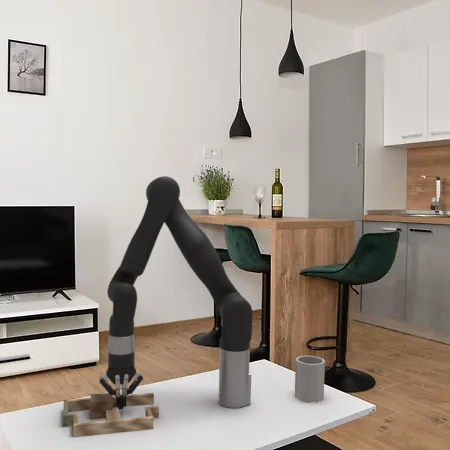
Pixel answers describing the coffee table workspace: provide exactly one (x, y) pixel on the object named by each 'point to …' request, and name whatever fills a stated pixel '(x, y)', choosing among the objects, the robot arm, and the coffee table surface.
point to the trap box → (110, 416)
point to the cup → (309, 378)
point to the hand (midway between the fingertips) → (121, 408)
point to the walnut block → (100, 405)
